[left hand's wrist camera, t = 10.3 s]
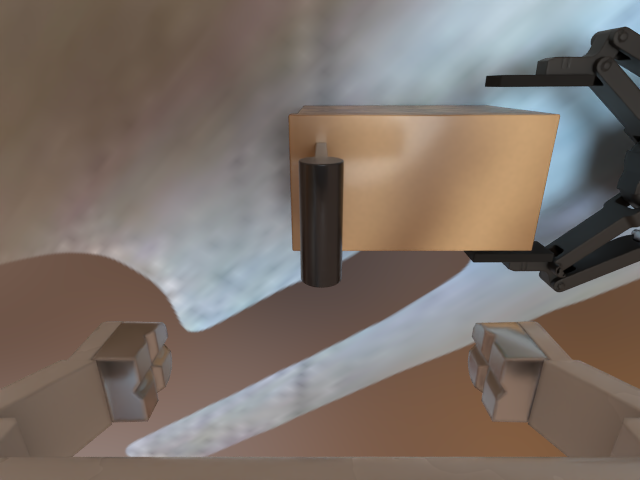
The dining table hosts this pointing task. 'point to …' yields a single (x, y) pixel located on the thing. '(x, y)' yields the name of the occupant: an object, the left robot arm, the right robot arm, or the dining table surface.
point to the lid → (414, 184)
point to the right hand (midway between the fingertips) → (478, 173)
